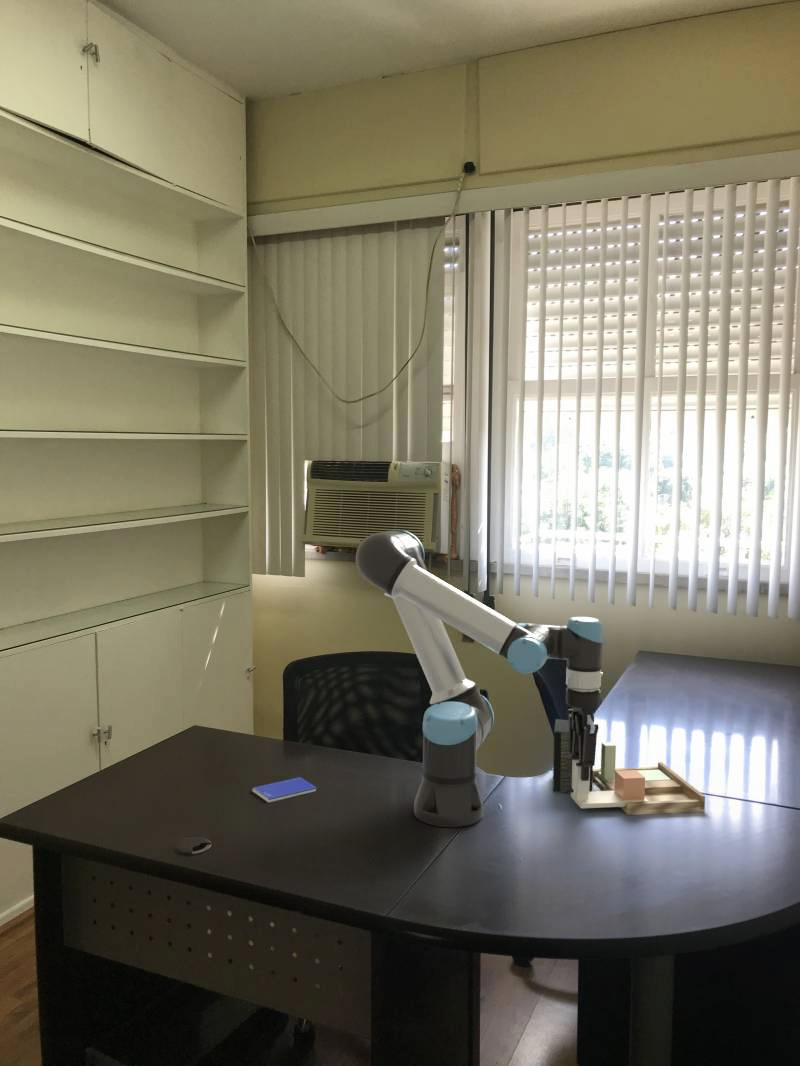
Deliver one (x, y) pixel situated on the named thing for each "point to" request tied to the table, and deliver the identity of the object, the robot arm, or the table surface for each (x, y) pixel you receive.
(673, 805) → the lane board
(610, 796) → the strip cream
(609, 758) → the pale green l-shaped bracket
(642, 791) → the cube
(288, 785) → the hard drive
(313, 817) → the table surface
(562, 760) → the tampon box
